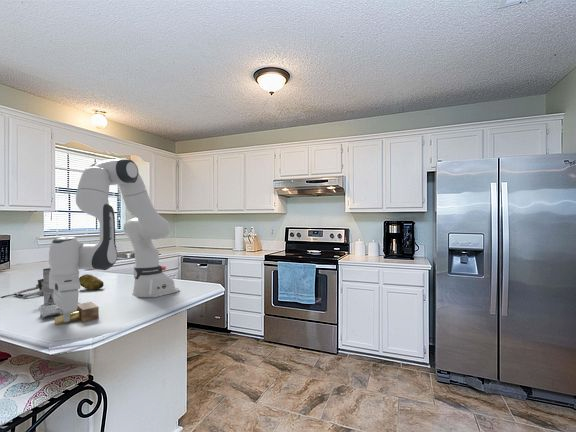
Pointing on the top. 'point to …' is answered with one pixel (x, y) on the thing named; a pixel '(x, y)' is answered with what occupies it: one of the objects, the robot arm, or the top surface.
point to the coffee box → (47, 288)
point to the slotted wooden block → (88, 311)
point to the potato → (90, 282)
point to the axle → (73, 317)
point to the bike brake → (38, 286)
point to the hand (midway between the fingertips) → (64, 319)
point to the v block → (50, 312)
